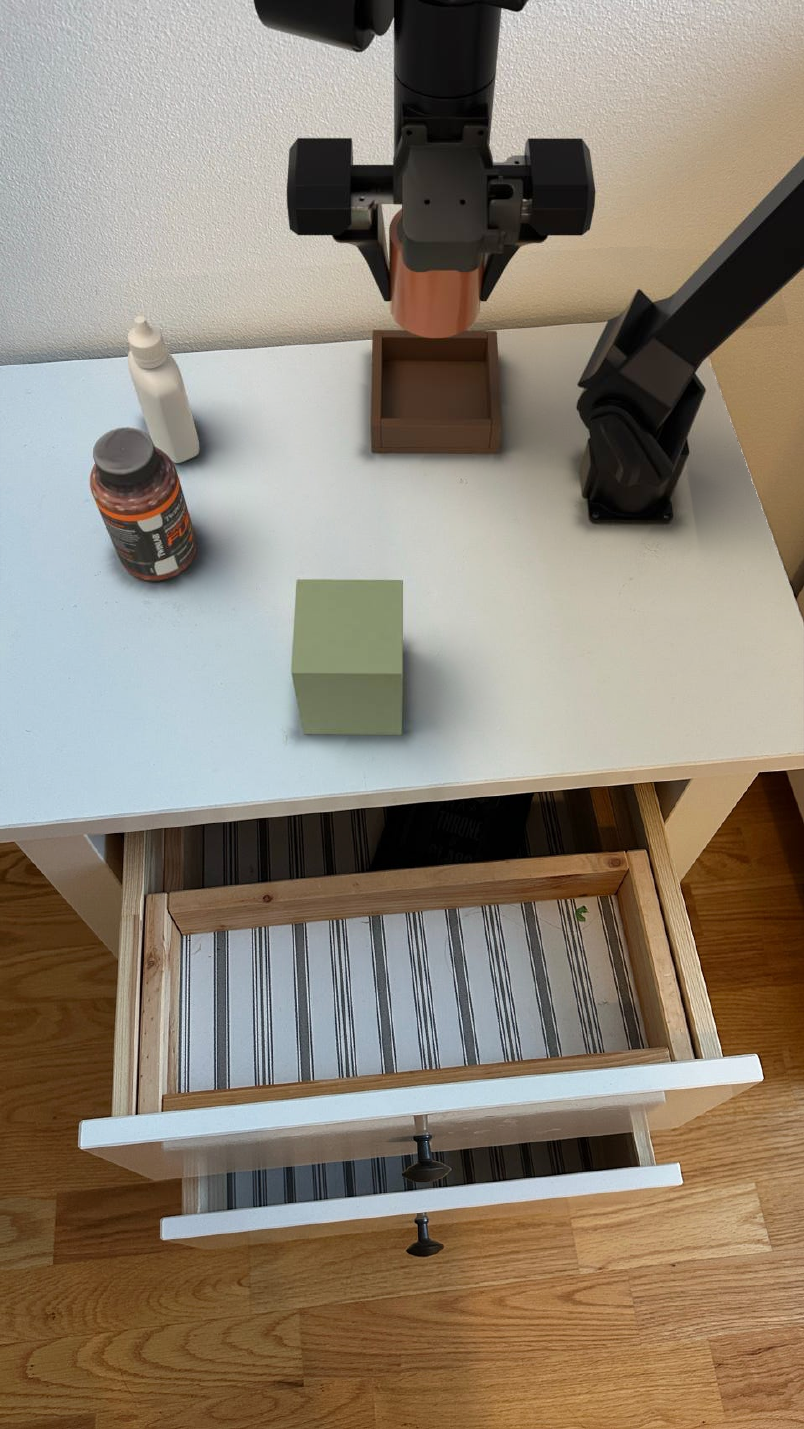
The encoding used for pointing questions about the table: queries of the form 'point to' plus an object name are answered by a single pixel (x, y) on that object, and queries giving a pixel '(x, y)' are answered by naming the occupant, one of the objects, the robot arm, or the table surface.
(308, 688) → the sage green cube
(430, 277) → the cup
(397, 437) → the tray
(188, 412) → the eye dropper bottle
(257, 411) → the table surface
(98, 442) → the supplement bottle
